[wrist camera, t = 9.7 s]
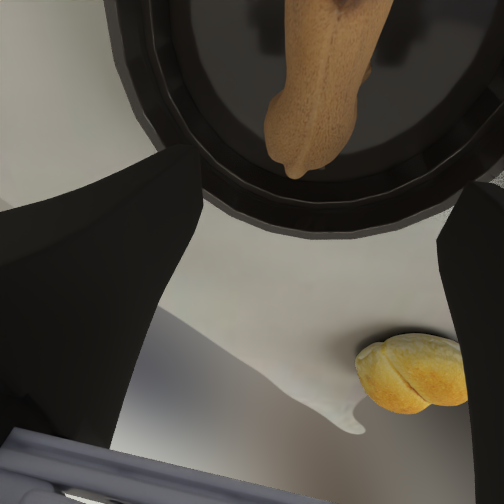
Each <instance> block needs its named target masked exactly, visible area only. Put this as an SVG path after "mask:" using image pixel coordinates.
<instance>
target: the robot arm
mask: <svg viewBox="0 0 504 504" xmlns="http://www.w3.org/2000/svg"><path fill="white" fill-rule="evenodd" d="M202 209H203V193H202V179H201V166H200V152H199V146H194V145H186V144H176V145H173V146H170V147H168V148H166V149H164V150H162V151H160V152H158V153H156V154H154V155H152V156H150V157H148V158H146V159H144V160H142V161H140V162H138V163H135V164H133V165H131V166H129V167H127V168H125V169H123V170H121V171H119V172H117V173H114V174H112V175H110V176H108V177H105V178H103V179H101V180H99V181H96V182H94V183H92V184H89V185H87V186H84V187H82V188H79V189H76V190H74V191H71V192H68V193H65V194H62V195H59V196H56V197H53V198H50V199H47V200H44V201H40V202H36V203H32V204H29V205H25V206H21V207H17V208H14V209H10V210H6V211H2V212H0V504H85V503H82V502H79V501H76V500H74V499H71V498H68V497H66V496H65V494H64V493H66V494H70V495H73V496H77V497H81V498H85V499H89V500H93V501H97V502H101V503H105V504H338V503H333V502H329V501H325V500H321V499H317V498H312V497H308V496H304V495H300V494H295V493H291V492H287V491H283V490H279V489H274V488H270V487H266V486H262V485H258V484H253V483H249V482H245V481H241V480H236V479H232V478H228V477H224V476H220V475H215V474H211V473H207V472H203V471H198V470H194V469H190V468H186V467H182V466H177V465H173V464H168V463H165V462H160V461H156V460H152V459H148V458H144V457H139V456H135V455H131V454H127V453H122V452H118V451H114V450H110V449H109V448H110V445H111V441H112V438H113V434H114V431H115V428H116V424H117V421H118V418H119V414H120V411H121V408H122V404H123V401H124V398H125V395H126V392H127V388H128V386H129V382H130V379H131V376H132V373H133V370H134V367H135V364H136V361H137V359H138V356H139V353H140V350H141V347H142V345H143V341H144V339H145V336H146V334H147V331H148V328H149V326H150V323H151V321H152V318H153V315H154V313H155V310H156V308H157V305H158V303H159V300H160V298H161V296H162V294H163V292H164V290H165V288H166V286H167V284H168V282H169V280H170V278H171V276H172V274H173V273H174V271H175V269H176V267H177V265H178V263H179V261H180V259H181V257H182V256H183V254H184V252H185V250H186V248H187V246H188V244H189V242H190V240H191V238H192V236H193V234H194V232H195V229H196V226H197V224H198V221H199V218H200V215H201V212H202ZM436 242H437V256H438V265H439V272H440V276H441V280H442V284H443V287H444V291H445V295H446V299H447V302H448V306H449V309H450V313H451V317H452V320H453V324H454V327H455V331H456V335H457V338H458V342H459V346H460V351H461V355H462V361H463V368H464V374H465V381H466V388H467V396H468V404H469V413H470V422H471V432H472V443H473V458H474V471H475V496H476V504H504V189H503V188H501V187H500V186H498V185H496V184H494V183H487V182H479V181H471V180H468V181H467V183H466V185H465V187H464V189H463V191H462V193H461V195H460V196H459V198H458V200H457V202H456V204H455V206H454V208H453V210H452V211H451V213H450V215H449V217H448V219H447V221H446V223H445V225H444V226H443V228H442V230H441V232H440V234H439V236H438V238H437V240H436Z"/></svg>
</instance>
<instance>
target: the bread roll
mask: <svg viewBox="0 0 504 504" xmlns="http://www.w3.org/2000/svg"><path fill="white" fill-rule="evenodd" d="M355 366H356V369H357V372H358V376H359V379H360V382H361V384H362V387H363V388H364V390H365V393H367V394H368V395H369V396H370V397H371V399H372V400H374V402H376V403H377V404H378V405H380V406H381V407H383V408H385V409H387V410H389V411H392V412H396V413H401V414H415V413H418V412H420V411H422V410H423V409H425V408H426V407H427V406H429V405H430V404H432V403H433V404H436V405H442V406H456V405H459V404H462V403H464V402H466V401H467V400H468V396H467V388H466V381H465V374H464V368H463V361H462V355H461V351H460V346H459V344H458V343H457V342H455V341H453V340H450V339H445V338H442V337H437V336H433V335H428V334H421V333H410V334H403V335H397V336H394V337H391V338H389V339H387V340H386V341H385V342H376V343H373V344H371V345H369V346H368V347H366V348H365V349H363V350H362V351H361V352H360V353H359V354H358V355H357V357H356V359H355Z"/></svg>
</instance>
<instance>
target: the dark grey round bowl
mask: <svg viewBox="0 0 504 504" xmlns="http://www.w3.org/2000/svg"><path fill="white" fill-rule="evenodd" d="M104 6H105V12H106V18H107V23H108V29H109V35H110V41H111V46H112V52H113V58H114V62H115V66H116V69H117V71H118V74H119V76H120V79H121V81H122V84H123V86H124V89H125V92H126V94H127V97H128V99H129V102H130V104H131V107H132V110H133V112H134V115H135V116H136V119H137V120H138V122H139V123H140V125H141V126H142V128H143V129H144V131H145V133H146V134H147V136H148V137H149V139H150V140H151V142H152V143H153V145H154V147H155V148H156V150H157V151H158V152H160V151H162V150H164V149H166V148H168V147H170V146H173V145H176V144H186V145H194V146H199V152H200V166H201V179H202V193H203V198H204V199H206V200H207V201H209V202H210V203H212V204H213V205H214V206H216V207H217V208H219V209H220V210H222V211H223V212H225V213H226V214H228V215H229V216H231V217H234V218H236V219H239V220H241V221H244V222H246V223H248V224H251V225H253V226H256V227H258V228H261V229H263V230H265V231H269V232H272V233H277V234H282V235H288V236H293V237H298V238H303V239H310V240H330V239H357V238H362V237H367V236H372V235H376V234H381V233H386V232H391V231H396V230H398V229H402V228H405V227H407V226H409V225H412V224H414V223H417V222H419V221H422V220H424V219H426V218H429V217H431V216H434V215H436V214H438V213H441V212H443V211H445V210H447V209H449V208H451V207H452V206H454V205H455V204H456V202H457V200H458V198H459V196H460V195H461V193H462V191H463V189H464V187H465V185H466V183H467V181H468V180H471V181H479V182H487V183H489V182H490V181H492V180H493V179H495V177H497V176H498V175H499V174H500V173H501V172H502V171H503V170H504V0H393V3H392V6H391V9H390V11H389V14H388V17H387V19H386V22H385V24H384V26H383V29H382V31H381V34H380V36H379V39H378V41H377V44H376V46H375V49H374V52H373V54H372V57H371V59H370V62H371V65H372V71H371V73H370V75H369V77H368V78H367V79H366V80H365V81H364V82H363V84H362V85H361V86H360V87H359V90H358V93H357V119H356V123H355V126H354V129H353V132H352V135H351V136H350V138H349V140H348V142H347V144H346V145H345V146H344V148H343V149H342V150H341V152H340V153H339V154H338V155H337V156H336V158H335V159H334V160H333V161H331V162H330V163H328V164H327V165H325V169H323V170H319V169H314V170H308V171H307V172H306V173H305V174H304V175H303V176H302V177H300V178H298V179H292V178H289V177H288V176H287V174H286V172H285V167H284V165H283V164H282V163H279V162H276V161H274V160H272V159H271V157H270V156H269V154H268V151H267V147H266V142H265V134H264V121H265V117H266V113H267V111H268V107H269V103H270V101H271V100H272V98H273V97H274V96H275V95H276V94H278V93H279V92H281V91H282V90H283V89H284V87H285V82H286V76H287V65H286V51H285V0H104Z"/></svg>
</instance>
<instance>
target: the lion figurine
mask: <svg viewBox="0 0 504 504" xmlns="http://www.w3.org/2000/svg"><path fill="white" fill-rule="evenodd" d="M392 3H393V0H285V51H286V65H287V76H286V82H285V87H284V89H283V90H282V91H281V92H279V93H278V94H276V95H275V96H274V97H273V98H272V100H271V101H270V103H269V107H268V111H267V113H266V117H265V121H264V134H265V142H266V147H267V151H268V154H269V156H270V157H271V159H272V160H274V161H276V162H279V163H282V164H283V165H284V167H285V172H286V174H287V176H288V177H289V178H292V179H298V178H300V177H302V176H303V175H304V174H305V173H306V172H307V171H308V170H314V169H319V170H323V169H325V165H327V164H328V163H330V162H331V161H333V160H334V159H335V158H336V156H337V155H338V154H339V153H340V152H341V150H342V149H343V148H344V146H345V145H346V144H347V142H348V140H349V138H350V136H351V135H352V132H353V129H354V126H355V123H356V119H357V93H358V90H359V87H360V86H361V85H362V84H363V82H364V81H365V80H366V79H367V78H368V77H369V75H370V73H371V71H372V65H371V62H370V59H371V57H372V54H373V52H374V49H375V46H376V44H377V41H378V39H379V36H380V34H381V31H382V29H383V26H384V24H385V22H386V19H387V17H388V14H389V11H390V9H391V6H392Z"/></svg>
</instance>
